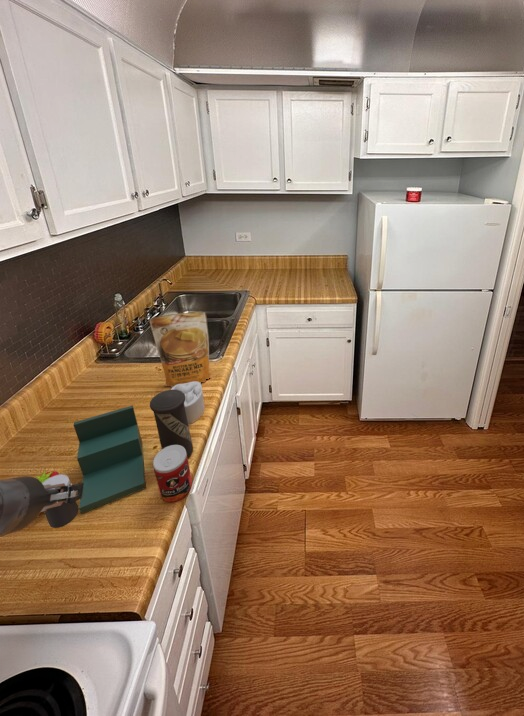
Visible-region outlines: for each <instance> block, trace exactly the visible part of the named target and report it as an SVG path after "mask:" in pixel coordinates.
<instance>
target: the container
mask: <svg viewBox="0 0 524 716" xmlns="http://www.w3.org/2000/svg"><path fill="white" fill-rule="evenodd" d="M184 402H185V394H184V393H183V392H182V391H180V390H171V389H166V390H163V391H160V392H158V393H156V394H155V395H154V396H153V397H151V399H150V402H149V409H150V410H151V411H152V412H153V416H154V420H155V425H156V429H157V434H158V438H159V443H160V444H159V445H160V448H161V450H162V449H164V448H165V447H168V446H171V445H180V446H183V447H184V448H185V450H186V453H187V458H188V459H189V458H190V457H191V456H192V454H193V452H194V446H193V445H194V444H193V440H192V436H191V435H192V434H191V431H190V424H189V425H188V420H187V416H186V411H185V406H184Z"/></svg>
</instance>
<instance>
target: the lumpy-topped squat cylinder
mask: <svg viewBox="0 0 524 716" xmlns="http://www.w3.org/2000/svg"><path fill="white" fill-rule="evenodd" d="M170 388H171V389H170V390H180V391H182V392H183V393H184V394H185V402H184V406H185V411H186V416H187V420H188V425H189V426H190V425H191V424H194V423H195V422H197V421H198V420H199V419H200V418H201V417H202V415H203V414H204V413H205V410H206V409H205V400H204V399H205V398H204V392H203V385H202V383H200V382H197V381H193V382H189V383H183V384H177V385H175V386H174V387H170Z"/></svg>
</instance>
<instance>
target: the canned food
mask: <svg viewBox="0 0 524 716" xmlns="http://www.w3.org/2000/svg"><path fill="white" fill-rule="evenodd" d="M152 464H153V465H152V467H153V472H154V475H155V479H156V483H157V487H158V492H159V495H160V497H161V499H162V500H163V501H165V502H166V503H176V502H179V501H180V500H182V499H184V498H185V497H186V496H187V495H188V494H189V492H190V490H191V488H192V483H193V479H192V475H191V469H190V464H189V458H187V453H186V450H185V448H184V447H183V446H180V445H171V446H168V447H165V448H164V449H161V450H159V451H158V452H157V453H156V455H154V458H153V460H152Z"/></svg>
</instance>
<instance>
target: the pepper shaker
mask: <svg viewBox="0 0 524 716" xmlns="http://www.w3.org/2000/svg"><path fill="white" fill-rule="evenodd" d="M62 483H64V484H65V485H69V484H71V480H70V478H69V476H68V475H67V474H60V475H56V476H53V477H51V478H49V479H47V480H46V481H44V482H43V483H42V484H43V485H48V484H50V485H55V484H62ZM53 489H54V488H53ZM64 492H66V489H65V490H64ZM79 512H80V509H79V505H78V503H77V501H76V502H73V503H71V504H69V503H65V501H64V502H63V503H62V505H60V506H57V507H53V508H49V509H47V510H46V511H43V513H44V515H45V518H46V521H47V523H48V525H49V527H50V528H52V529H61V528H63V527H65V526H67V525H69V524H70V523H71V522H73V520H74V519H75V518H76V517H77V516H78V514H79Z"/></svg>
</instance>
